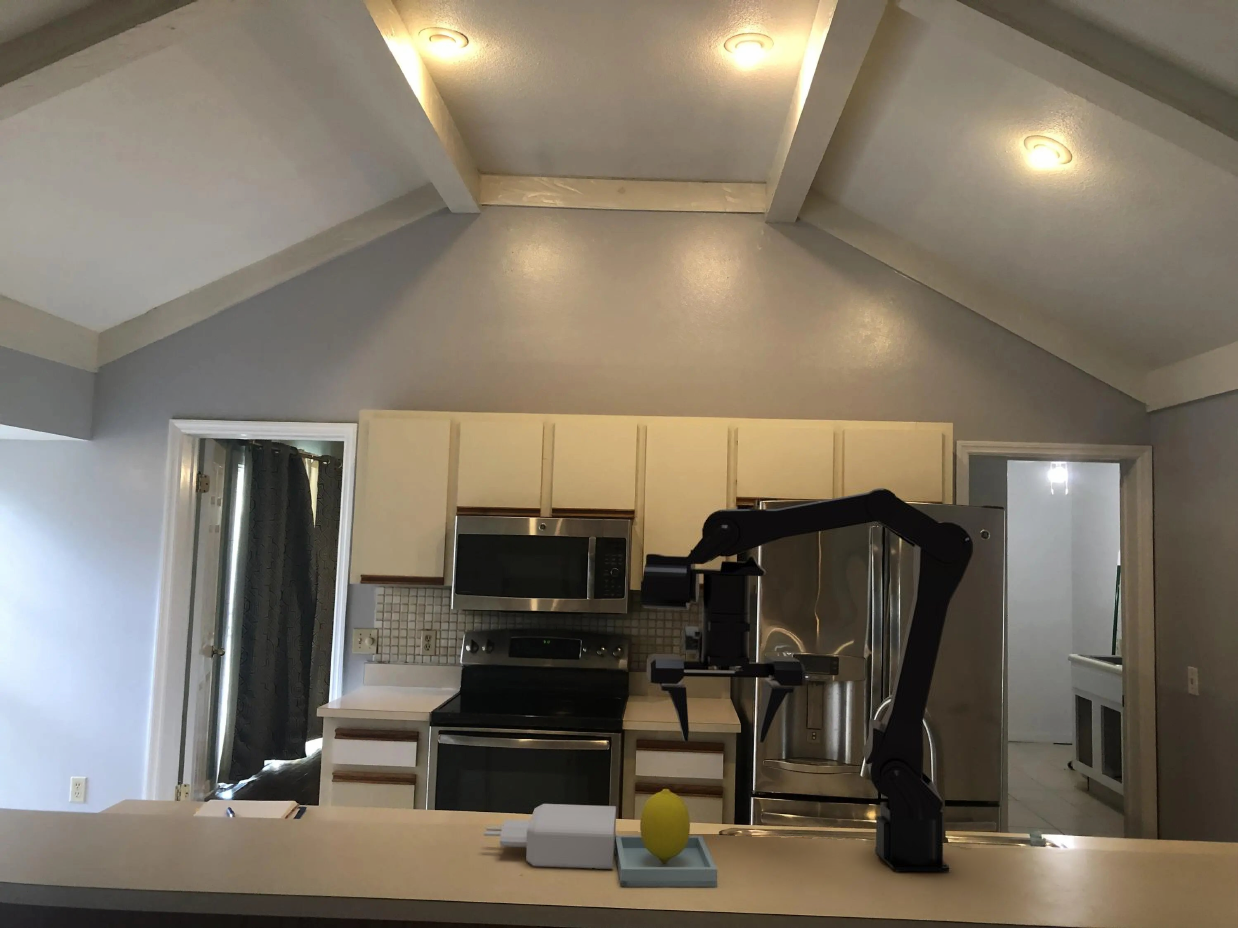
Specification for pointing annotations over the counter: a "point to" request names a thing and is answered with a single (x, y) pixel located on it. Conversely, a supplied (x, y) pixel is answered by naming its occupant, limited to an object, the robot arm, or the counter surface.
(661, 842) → the lemon
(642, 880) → the tray
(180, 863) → the counter surface
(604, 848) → the charger
